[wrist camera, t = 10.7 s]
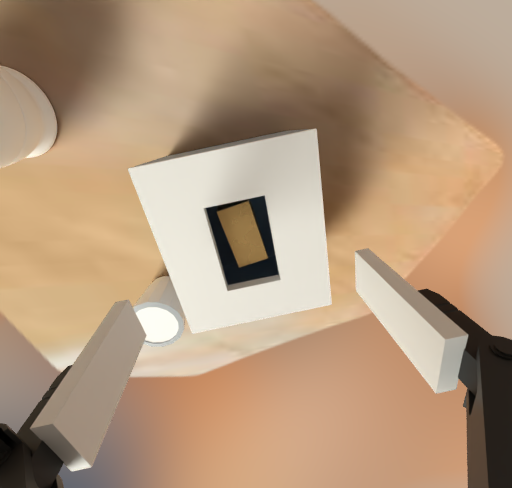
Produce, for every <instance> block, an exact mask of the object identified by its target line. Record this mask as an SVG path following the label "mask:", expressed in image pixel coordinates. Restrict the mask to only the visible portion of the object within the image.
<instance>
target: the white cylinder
mask: <svg viewBox="0 0 512 488" xmlns="http://www.w3.org/2000/svg"><path fill="white" fill-rule="evenodd" d="M133 309H134V311H135V313H136V315H137V317H138V319H139V321H140V323H141V325H142V327H143V329H144V331H145V333H146V335H147V336H146V338H145V340H144V343H143V344H145V345H149V346H166V345H169V344H172V343H174V342H175V341H176V340H177V339H179V338H180V337H181V335H182V333H183V330H184V325H185V317H186V316H185V314H184V311H183V309H182V306H181V304H180V301H179V298H178V296H177V293H176V291H175V288H174V286H173V283H172V281H171V278H170V276H162V277H159V278H156V279H155V280H154V281H153V282H152V283H151V284H150V285H149V286H148V288H147V289H146V290H145V292H144V293H143V294H142V295H141V297H140V298H139V299H138V301H137V302H136V303H135V304H134V306H133Z"/></svg>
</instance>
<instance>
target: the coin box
mask: <svg viewBox="0 0 512 488" xmlns="http://www.w3.org/2000/svg"><path fill="white" fill-rule="evenodd" d="M128 171H129V173H130V176H131V179H132V181H133V184H134V186H135V189H136V191H137V194H138V196H139V199H140V202H141V204H142V207H143V209H144V212H145V214H146V217H147V219H148V222H149V224H150V227H151V230H152V232H153V235H154V237H155V240H156V242H157V245H158V247H159V250H160V253H161V255H162V258H163V260H164V263H165V265H166V268H167V270H168V273H169V275H170V278H171V281H172V283H173V286H174V288H175V291H176V293H177V296H178V298H179V301H180V304H181V306H182V309H183V311H184V314H185V316H186V319H187V321H188V324H189V326H190V329H191V332H192V334H194V333H199V332H203V331H208V330H213V329H218V328H222V327H227V326H232V325H237V324H242V323H246V322H251V321H256V320H261V319H265V318H270V317H275V316H280V315H285V314H289V313H294V312H299V311H304V310H308V309H313V308H318V307H323V306H327V305H332V302H331V290H330V279H329V267H328V255H327V243H326V232H325V220H324V208H323V197H322V185H321V173H320V161H319V150H318V138H317V129H304V130H290V131H283V132H278V133H273V134H268V135H264V136H259V137H254V138H250V139H245V140H240V141H236V142H231V143H226V144H221V145H217V146H212V147H207V148H203V149H198V150H193V151H189V152H184V153H179V154H175V155H170V156H166V157H163V158H160V159H157V160H153V161H150V162H147V163H144V164H141V165H138V166H135V167H132V168H128ZM245 199H250V200H251V203H252V206H253V209H254V212H255V215H256V218H257V221H258V224H259V227H260V231H261V234H262V238H263V241H264V245H265V249H266V252H267V256H268V258H267V259H264V260H261V261H258V262H255V263H252V264H249V265H246V266H243V267H240V268H239V266H238V264H237V261H236V259H235V256H234V254H233V251H232V249H231V246H230V244H229V241H228V239H227V237H226V234H225V232H224V229H223V227H222V224H221V222H220V219H219V217H218V214H217V208H218V205H222V204H226V203H231V202H236V201H241V200H245Z"/></svg>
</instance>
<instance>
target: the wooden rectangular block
mask: <svg viewBox="0 0 512 488" xmlns="http://www.w3.org/2000/svg"><path fill="white" fill-rule="evenodd" d="M217 214H218V217H219V219H220V222H221V224H222V227H223V229H224V232H225V234H226V237H227V239H228V241H229V244H230V246H231V249H232V251H233V254H234V256H235V259H236V261H237V264H238V266H239V268H240V267H243V266H246V265H249V264H252V263H255V262H258V261H261V260H264V259H267V258H268V256H267V252H266V249H265V245H264V241H263V238H262V234H261V231H260V227H259V224H258V221H257V218H256V215H255V212H254V209H253V206H252V203H251V200H250V199H245V200H241V201H236V202H231V203H226V204H222V205H218V208H217Z"/></svg>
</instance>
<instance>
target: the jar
mask: <svg viewBox="0 0 512 488" xmlns="http://www.w3.org/2000/svg"><path fill="white" fill-rule="evenodd" d="M56 135H57V120H56V116H55V113H54V110H53V107H52V105H51V103H50V102H49V100H48V98H47V97H46V95H45V94H44V93H43V91H42V90H41V89H40V88H39V87H38V86H37V85H36V84H35V83H34V82H33V81H32V80H31V79H29V78H28V77H27V76H25V75H23V74H22V73H20V72H18V71H16V70H14V69H11V68H9V67H5V66H0V168H2V167H5V166H8V165H11V164H14V163H16V162H18V161H20V160H22V159H24V158H31V157H37V156H40V155H42V154H44V153H46V152H47V151H48V150H49V149H50V148H51V147H52V145H53V144H54V142H55V139H56Z"/></svg>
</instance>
